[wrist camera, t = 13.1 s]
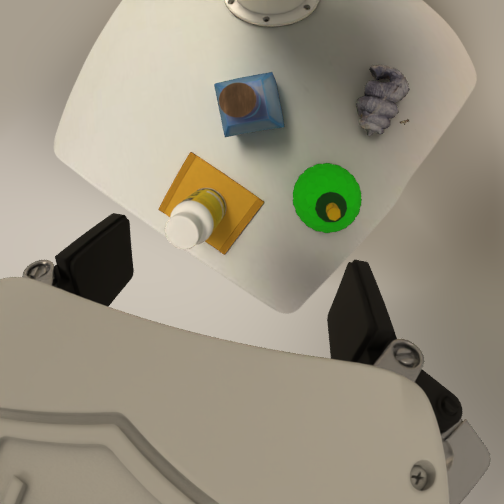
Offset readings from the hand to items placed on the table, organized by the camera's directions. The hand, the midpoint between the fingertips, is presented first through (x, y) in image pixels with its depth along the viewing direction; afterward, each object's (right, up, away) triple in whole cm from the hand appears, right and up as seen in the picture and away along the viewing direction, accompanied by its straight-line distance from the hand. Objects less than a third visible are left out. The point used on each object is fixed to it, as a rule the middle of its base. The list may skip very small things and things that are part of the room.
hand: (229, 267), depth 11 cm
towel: (-5, +7, +26) cm, 28 cm away
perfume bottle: (+1, +19, +20) cm, 27 cm away
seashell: (+17, +20, +17) cm, 31 cm away
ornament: (+10, +9, +23) cm, 27 cm away
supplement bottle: (-5, +7, +26) cm, 28 cm away
